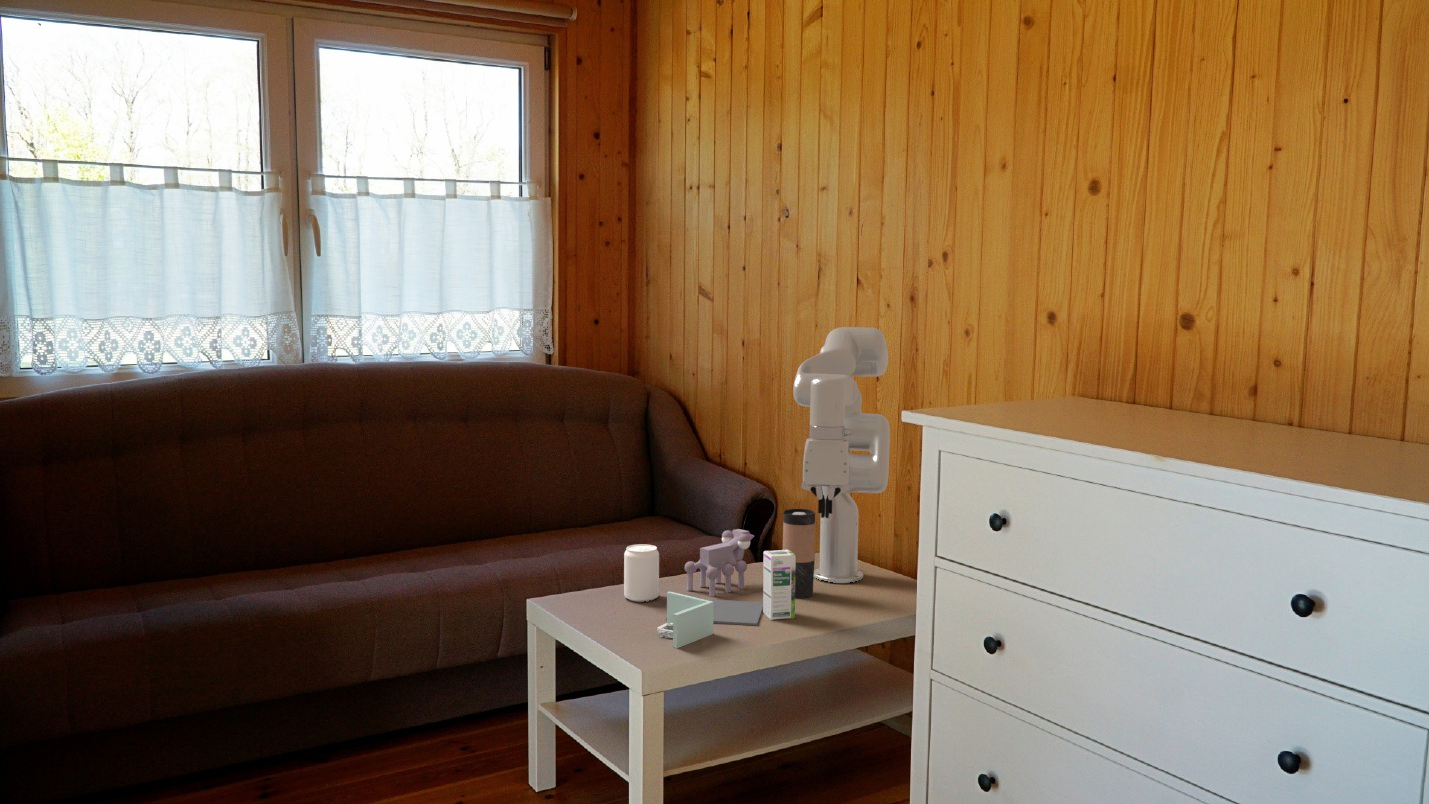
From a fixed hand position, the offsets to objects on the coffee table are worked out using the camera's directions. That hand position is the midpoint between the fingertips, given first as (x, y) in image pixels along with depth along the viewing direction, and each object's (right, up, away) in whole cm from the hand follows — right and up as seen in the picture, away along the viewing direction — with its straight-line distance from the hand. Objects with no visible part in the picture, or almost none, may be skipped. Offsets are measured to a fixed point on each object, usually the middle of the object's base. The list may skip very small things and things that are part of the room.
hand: (825, 516), depth 235 cm
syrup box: (-10, -23, +4) cm, 25 cm away
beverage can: (-41, -21, +17) cm, 49 cm away
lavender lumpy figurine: (-21, -20, +27) cm, 40 cm away
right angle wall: (-33, -25, -10) cm, 42 cm away
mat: (-24, -22, +6) cm, 33 cm away
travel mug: (-4, -21, +21) cm, 30 cm away
